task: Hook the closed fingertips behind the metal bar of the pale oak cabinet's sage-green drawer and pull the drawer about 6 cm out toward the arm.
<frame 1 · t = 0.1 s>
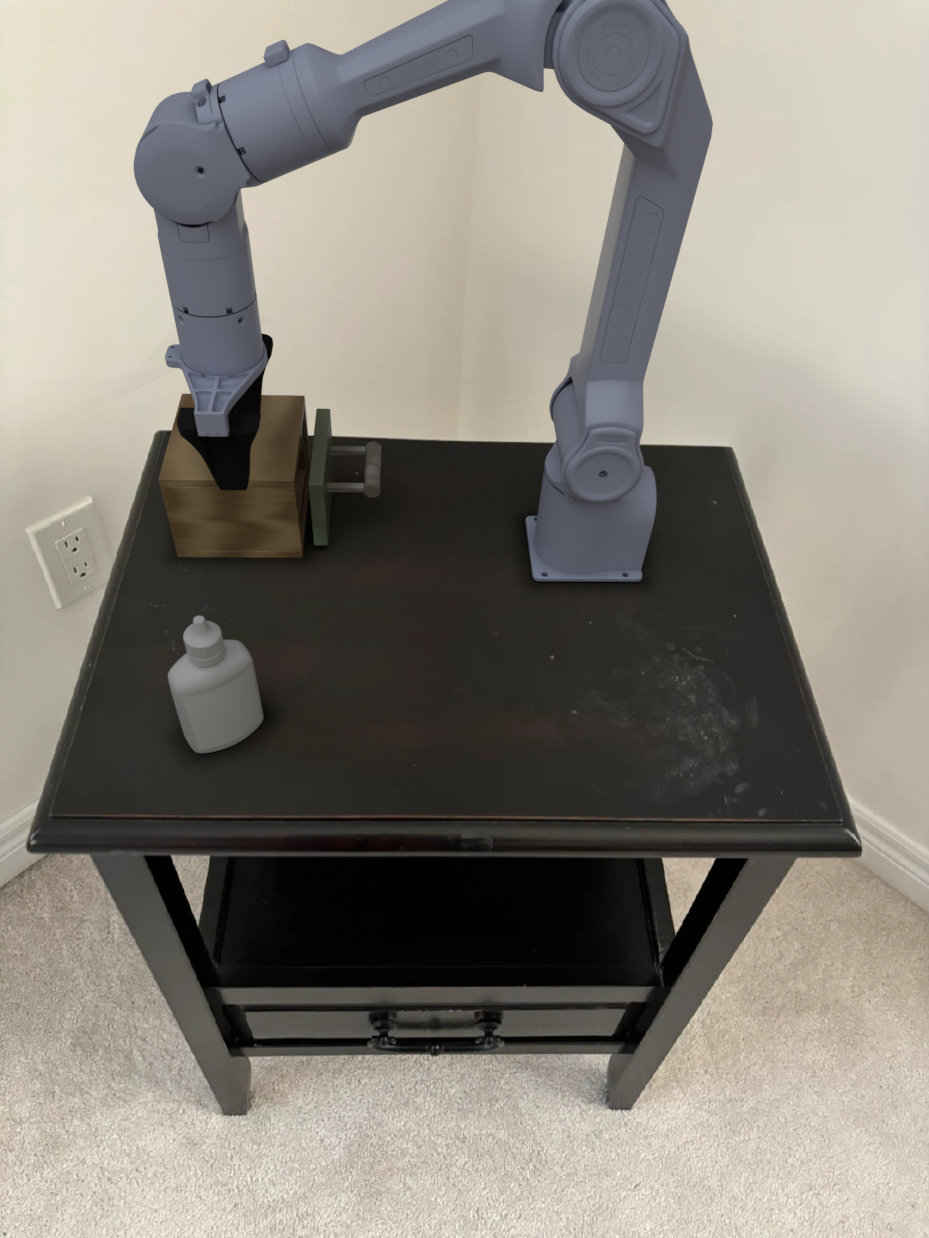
hand: (239, 455, 73), 10 cm above the table, tool pointing down, fingers open, 7 cm apart
eye dropper bottle: (225, 730, 68), on the table
cabinet: (248, 512, 84), on the table
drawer: (300, 476, 81), point 4 cm above the table, slide at 1.0 cm
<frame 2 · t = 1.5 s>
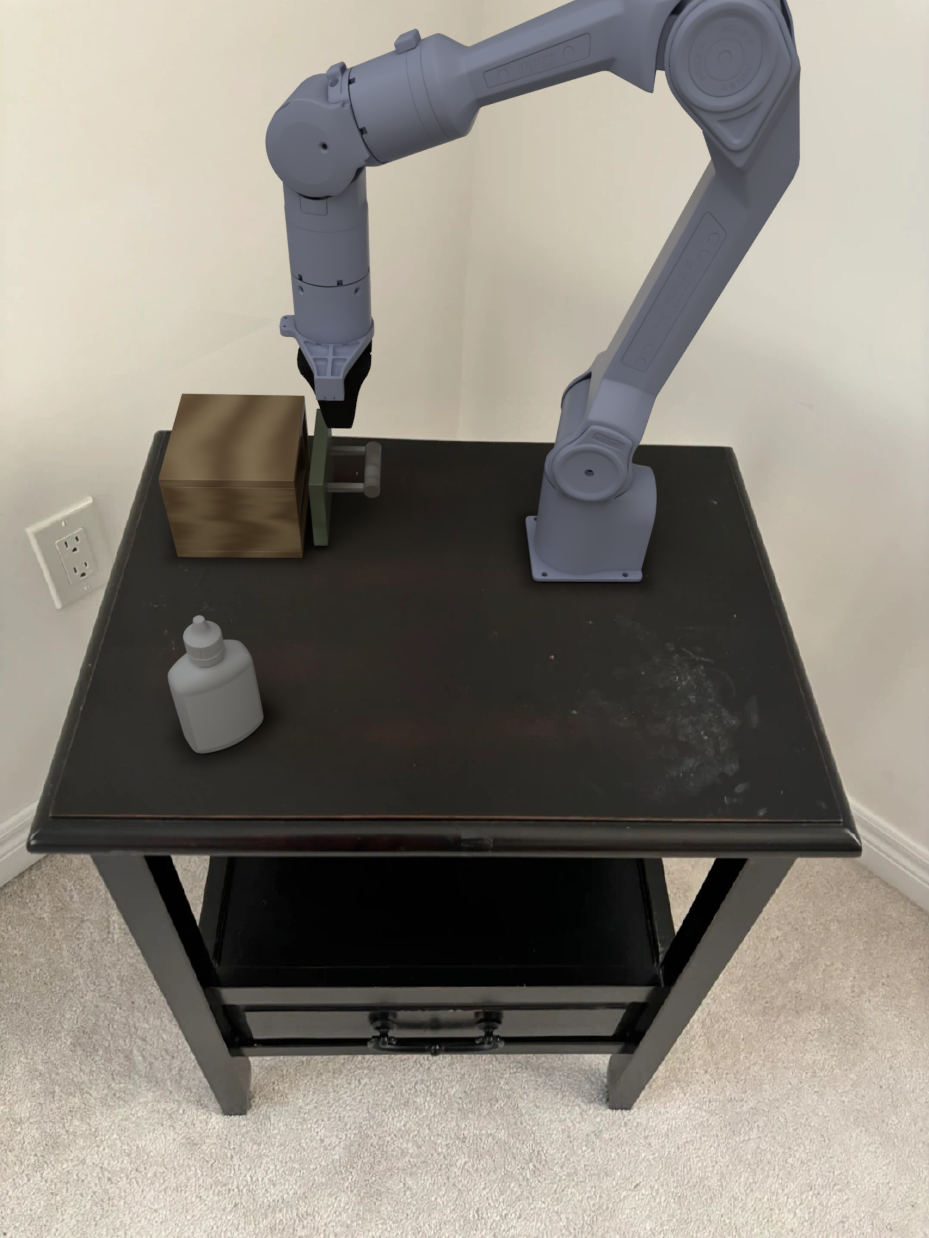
hand: (339, 423, 77), 10 cm above the table, tool pointing down, fingers closed
nothing on the table moved.
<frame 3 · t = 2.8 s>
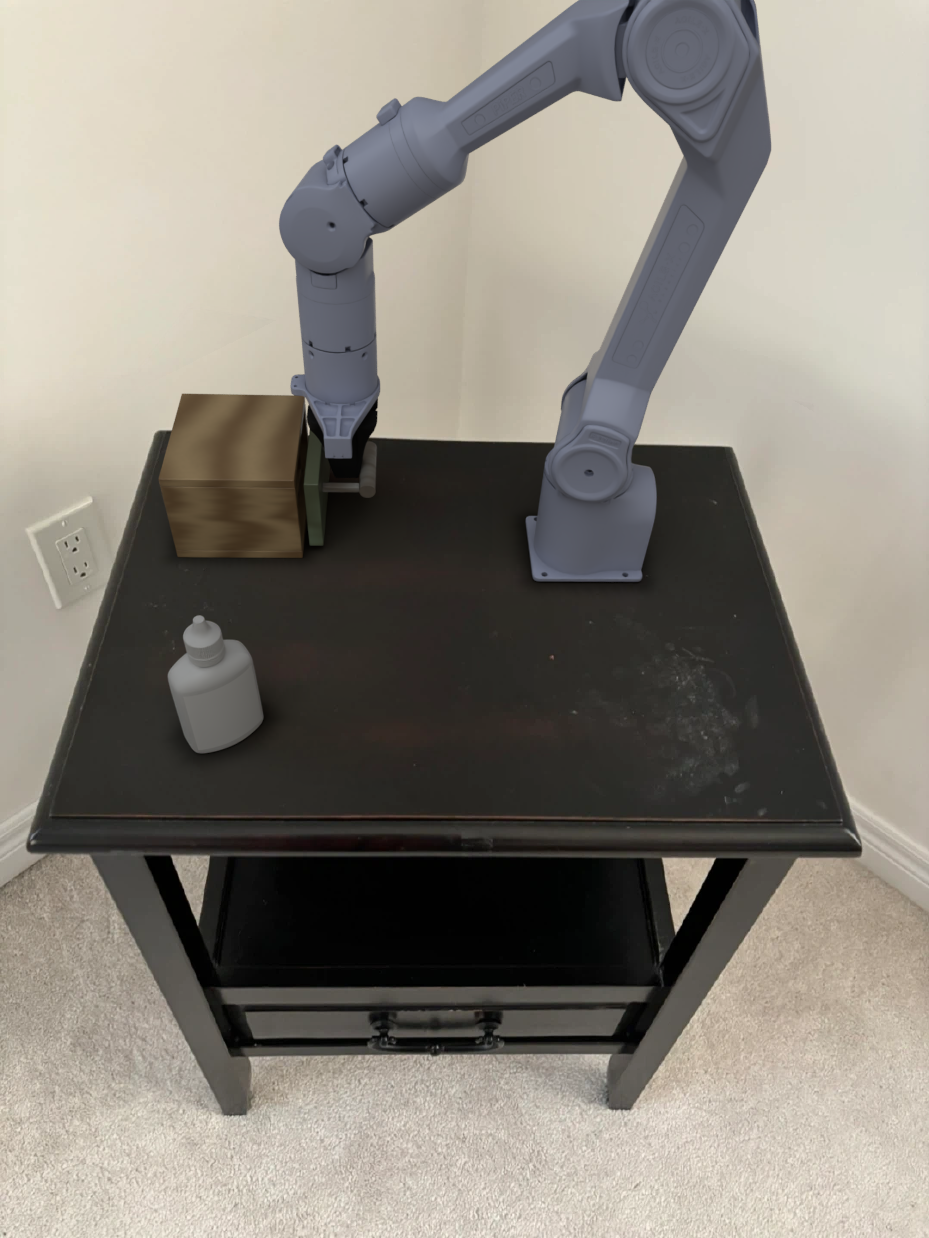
hand: (346, 473, 81), 5 cm above the table, tool pointing down, fingers closed, pressing on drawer
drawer: (295, 476, 81), point 4 cm above the table, slide at 0.6 cm, touching gripper
everything else where it was.
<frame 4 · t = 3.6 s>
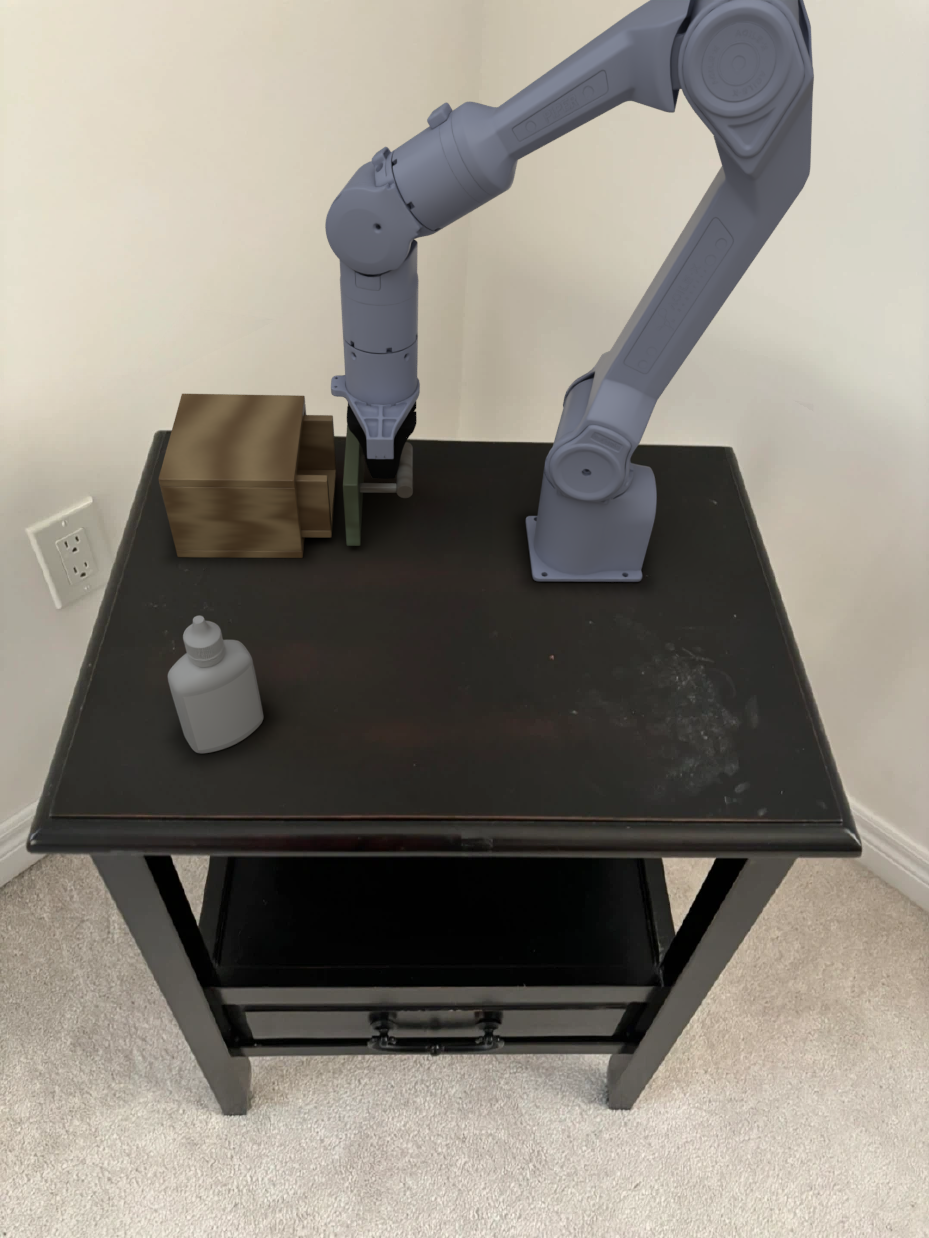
hand: (383, 473, 81), 5 cm above the table, tool pointing down, fingers closed, pressing on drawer
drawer: (332, 476, 81), point 4 cm above the table, slide at 3.8 cm, touching gripper
everything else where it was.
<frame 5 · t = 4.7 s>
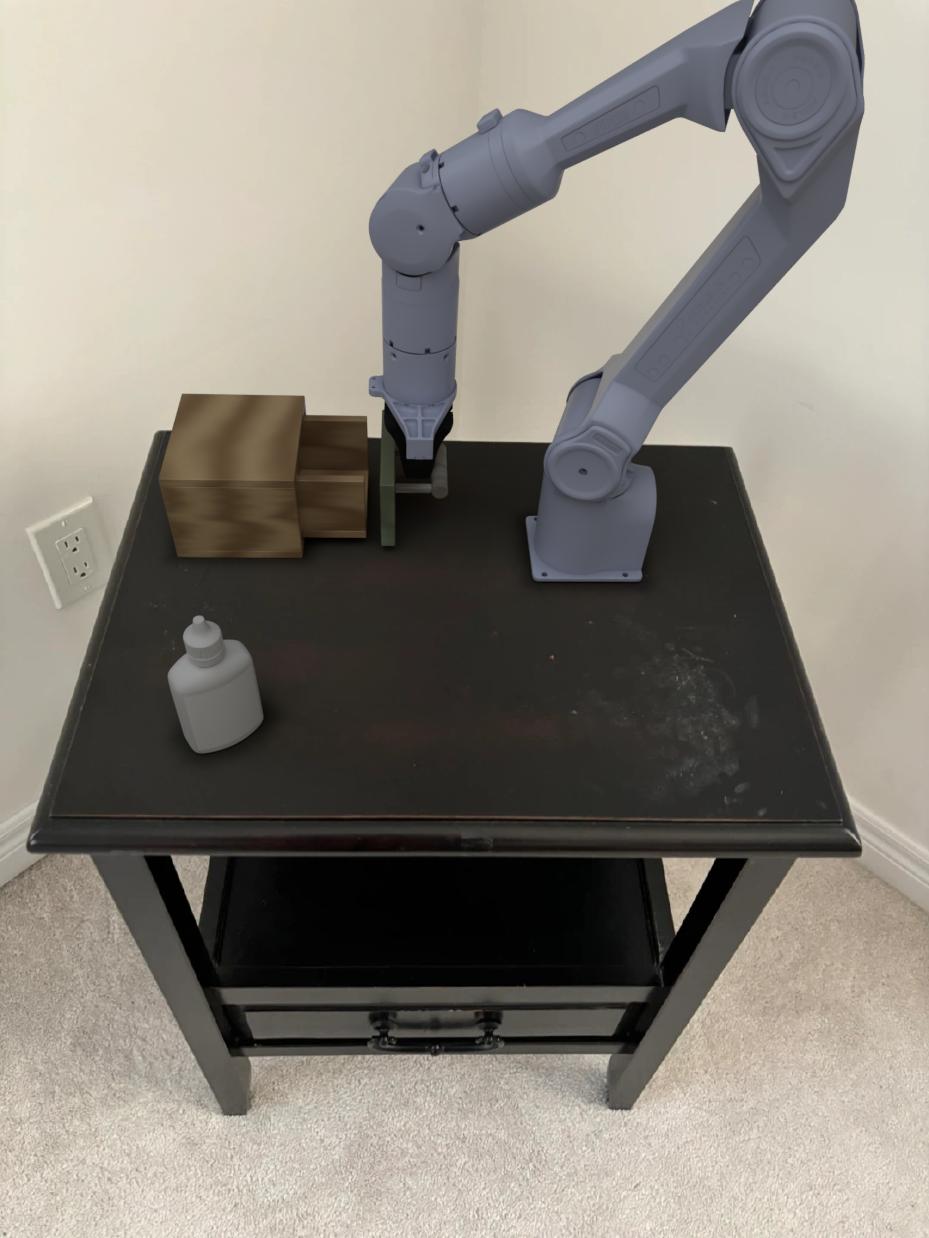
hand: (417, 473, 81), 5 cm above the table, tool pointing down, fingers closed, pressing on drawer
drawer: (366, 476, 81), point 4 cm above the table, slide at 6.8 cm, touching gripper
everything else where it was.
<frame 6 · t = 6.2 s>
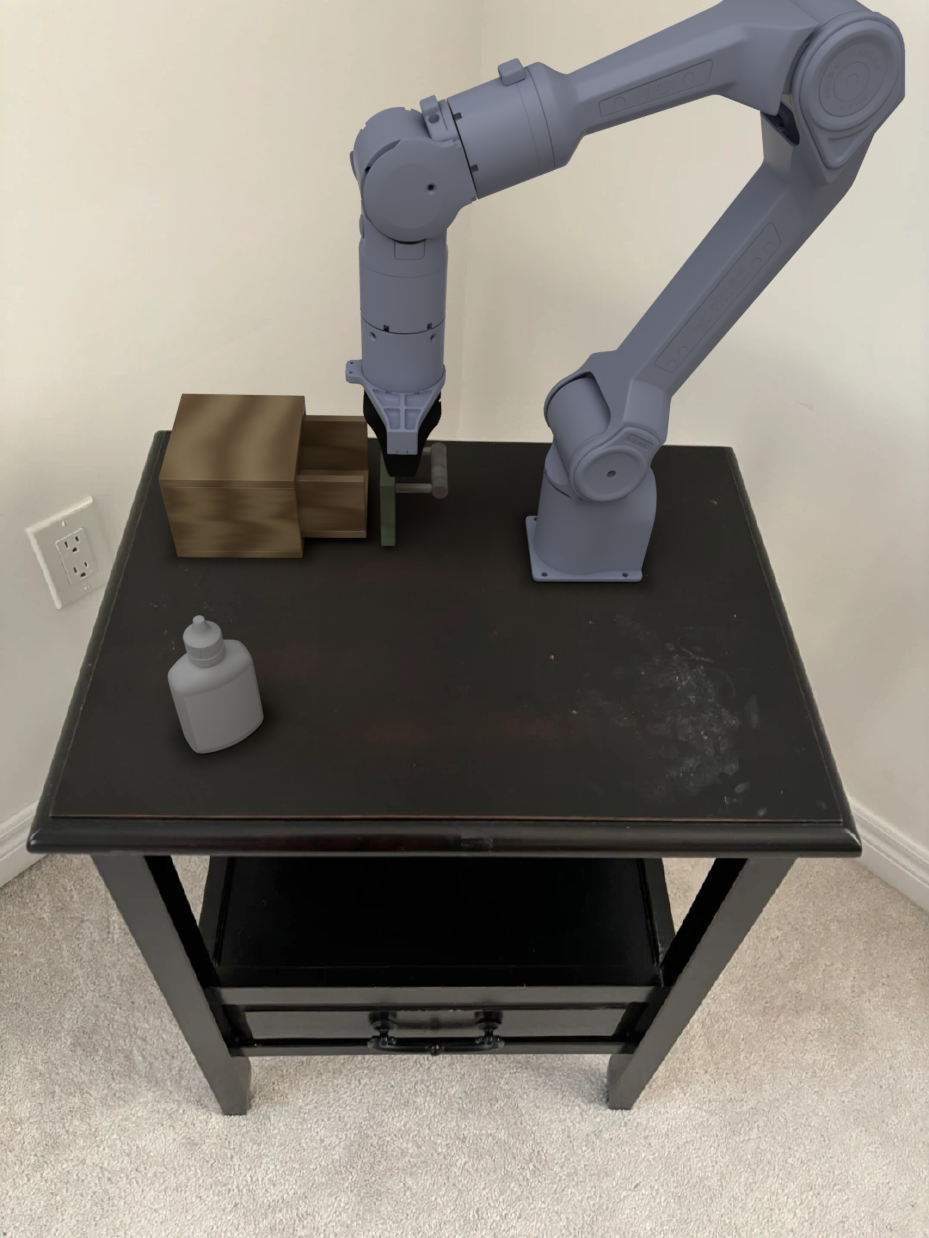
hand: (401, 471, 72), 10 cm above the table, tool pointing down, fingers closed
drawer: (366, 476, 81), point 4 cm above the table, slide at 6.8 cm
everything else where it was.
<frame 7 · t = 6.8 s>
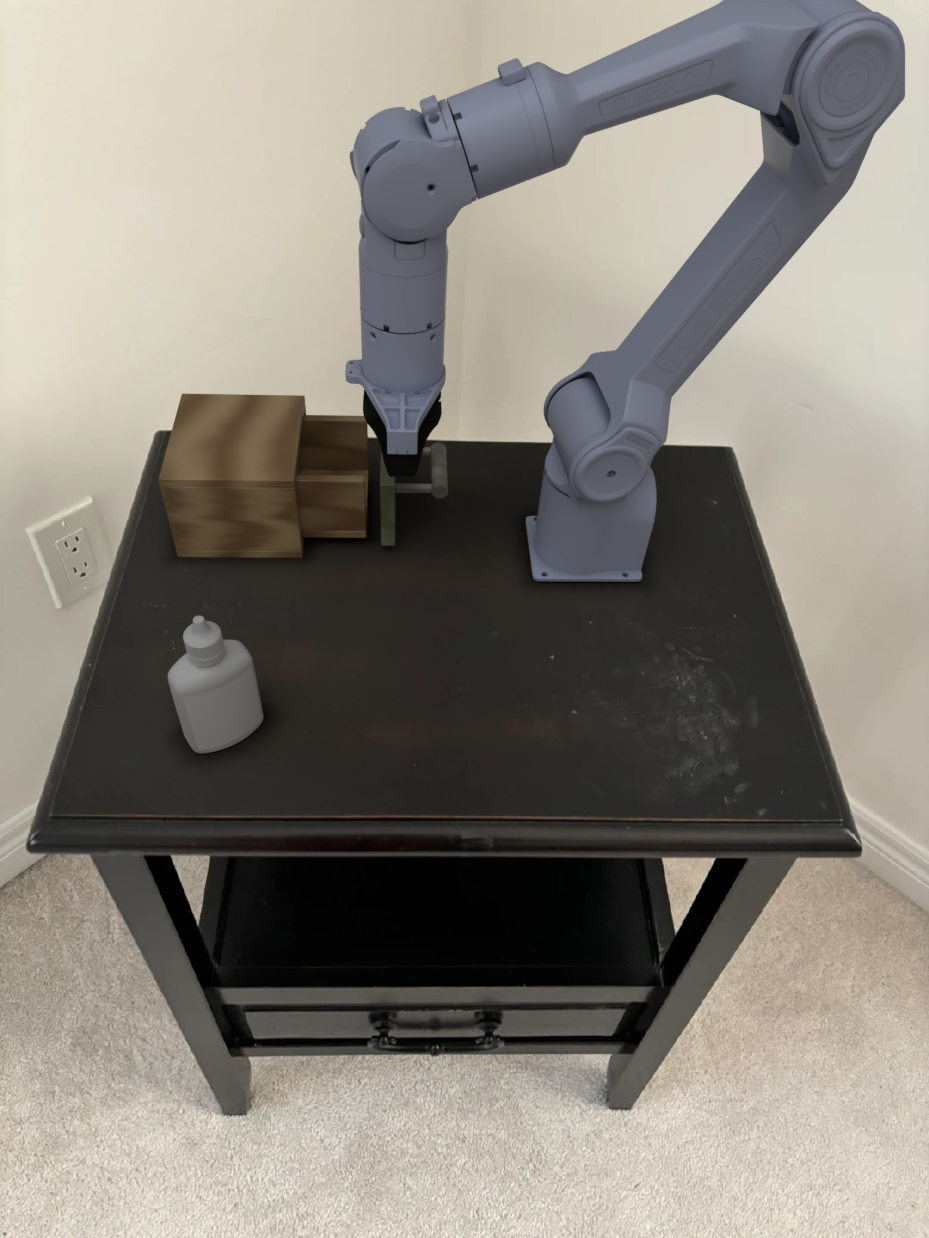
hand: (401, 471, 72), 10 cm above the table, tool pointing down, fingers closed
nothing on the table moved.
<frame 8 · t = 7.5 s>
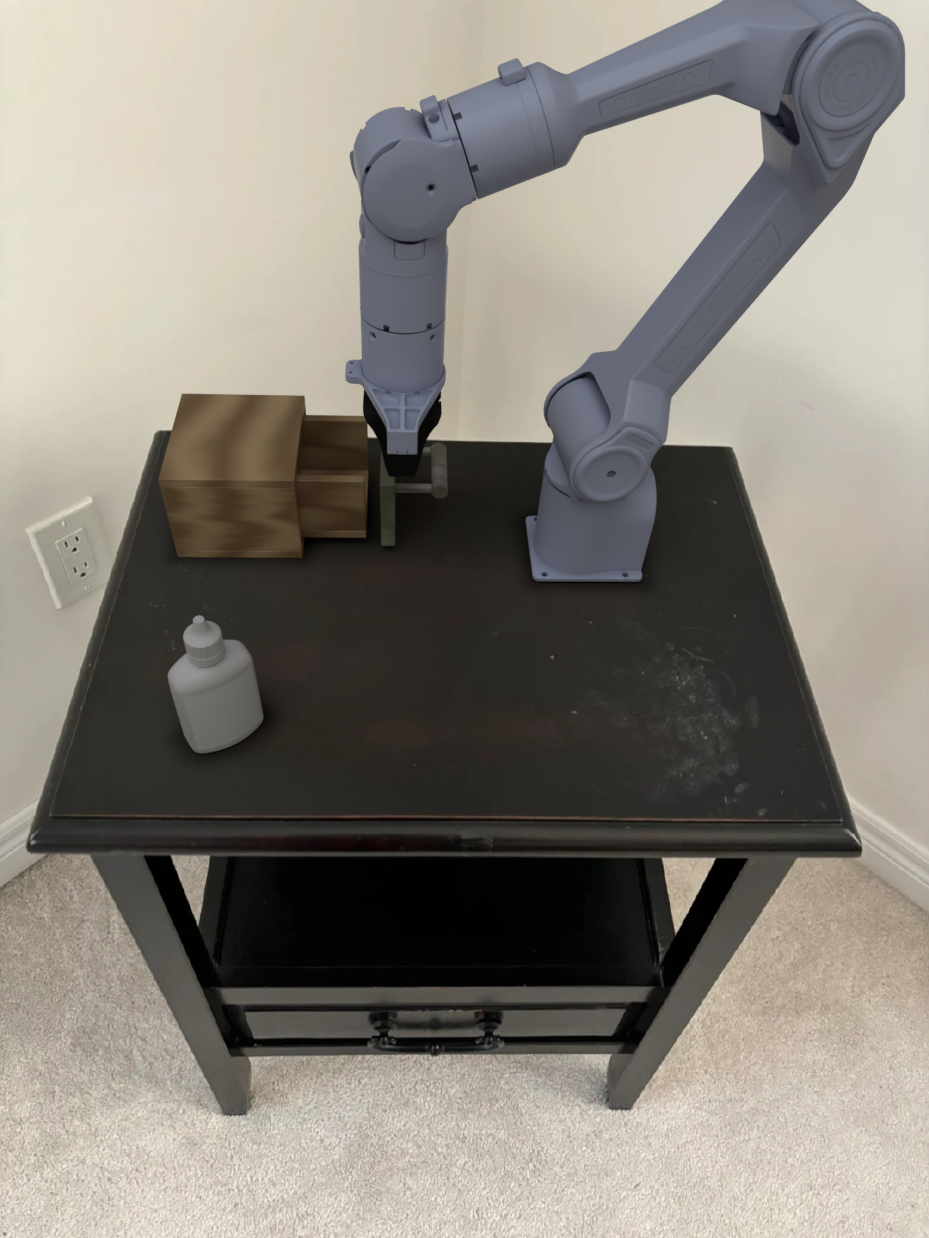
hand: (401, 471, 72), 10 cm above the table, tool pointing down, fingers closed
nothing on the table moved.
at the end: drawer slide at 6.8 cm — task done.
